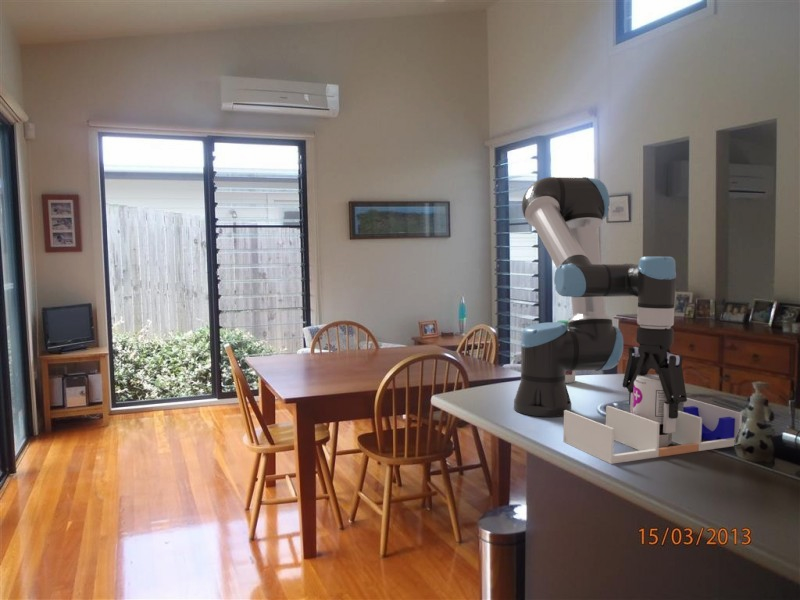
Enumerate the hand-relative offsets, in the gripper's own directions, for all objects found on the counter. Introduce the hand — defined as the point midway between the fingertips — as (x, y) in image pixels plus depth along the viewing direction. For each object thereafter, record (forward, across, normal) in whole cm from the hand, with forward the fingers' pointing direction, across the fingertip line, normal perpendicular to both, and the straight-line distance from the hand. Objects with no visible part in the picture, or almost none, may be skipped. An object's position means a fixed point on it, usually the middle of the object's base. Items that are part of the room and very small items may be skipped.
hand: (651, 426), depth 142 cm
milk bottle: (+4, +64, -22) cm, 68 cm away
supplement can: (+4, 0, 0) cm, 4 cm away
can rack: (+4, 0, 0) cm, 4 cm away
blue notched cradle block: (+4, -1, -15) cm, 15 cm away
